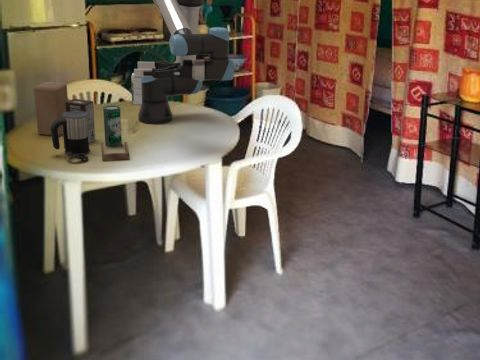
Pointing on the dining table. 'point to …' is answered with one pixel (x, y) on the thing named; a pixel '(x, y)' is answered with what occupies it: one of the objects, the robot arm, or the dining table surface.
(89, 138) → the coffee box
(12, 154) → the dining table surface
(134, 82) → the syrup box
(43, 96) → the block
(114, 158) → the brown flat u-shaped piece
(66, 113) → the milk frother
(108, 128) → the can
